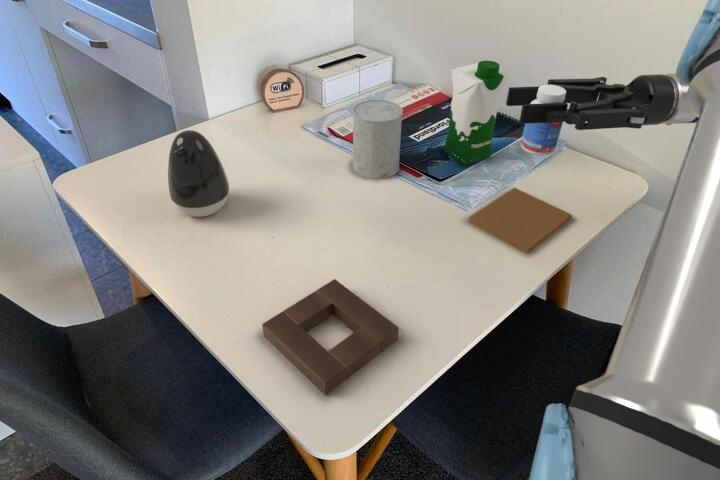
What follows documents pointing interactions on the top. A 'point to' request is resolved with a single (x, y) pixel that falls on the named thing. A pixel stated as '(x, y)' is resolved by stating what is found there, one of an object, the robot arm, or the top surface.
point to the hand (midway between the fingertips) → (515, 105)
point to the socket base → (347, 355)
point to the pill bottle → (543, 124)
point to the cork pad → (520, 219)
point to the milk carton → (474, 111)
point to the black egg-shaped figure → (196, 175)
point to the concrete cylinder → (376, 138)
